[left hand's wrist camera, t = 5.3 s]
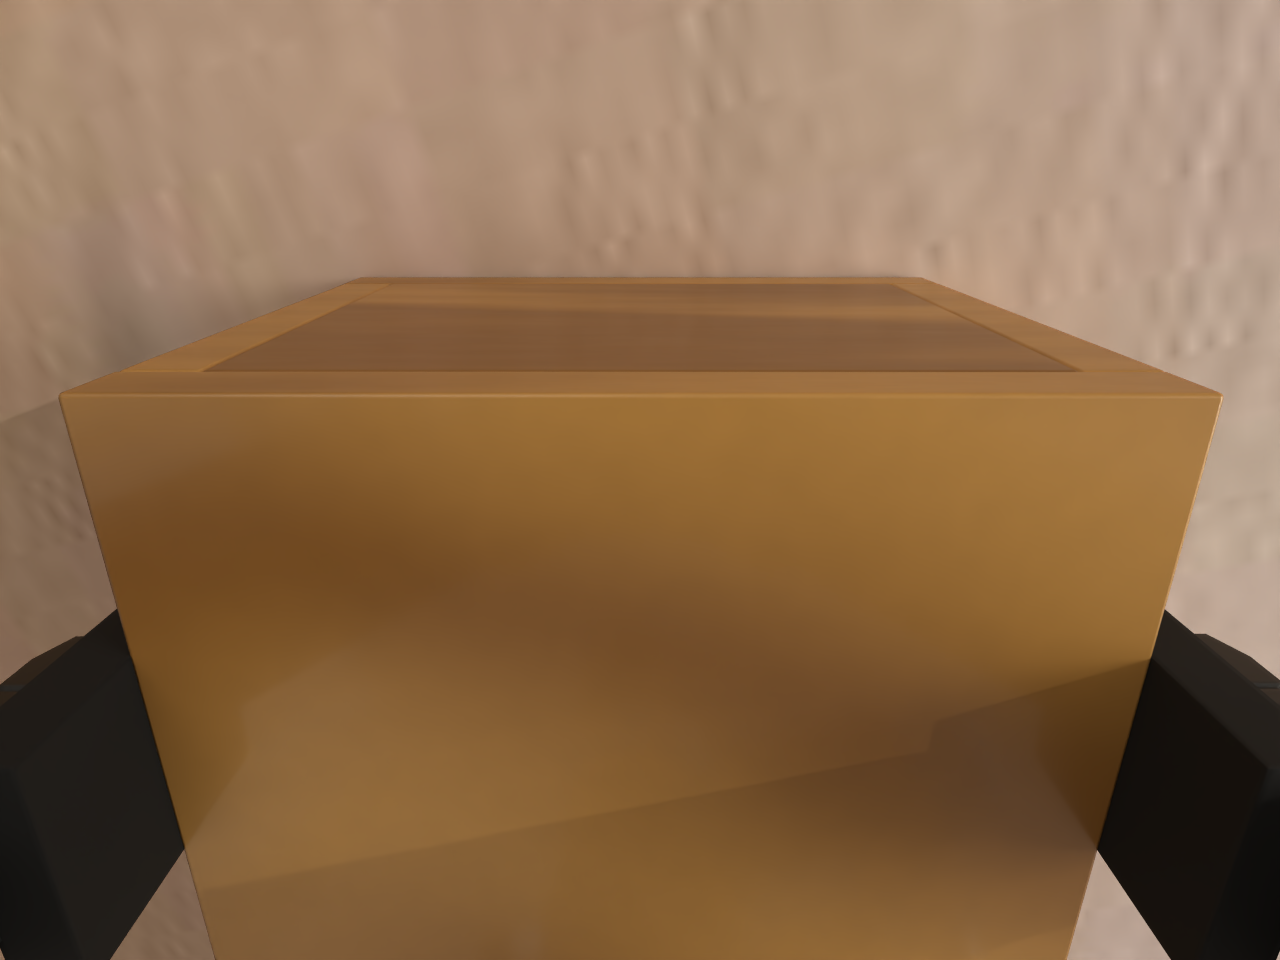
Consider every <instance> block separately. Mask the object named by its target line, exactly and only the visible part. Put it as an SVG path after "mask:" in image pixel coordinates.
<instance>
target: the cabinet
mask: <svg viewBox="0 0 1280 960" xmlns="http://www.w3.org/2000/svg"><path fill="white" fill-rule="evenodd" d="M59 402H60V405H61V409H62V413H63V416H64V420H65V423H66V427H67V430H68V434H69V438H70V441H71V445H72V448H73V452H74V455H75V459H76V463H77V466H78V470H79V473H80V477H81V481H82V484H83V488H84V491H85V495H86V498H87V502H88V506H89V509H90V513H91V516H92V520H93V523H94V527H95V531H96V534H97V538H98V541H99V545H100V549H101V552H102V556H103V559H104V563H105V566H106V570H107V574H108V577H109V581H110V584H111V588H112V592H113V595H114V599H115V602H116V606H117V609H118V613H119V617H120V620H121V624H122V627H123V631H124V634H125V638H126V642H127V645H128V649H129V652H130V656H131V659H132V663H133V667H134V670H135V674H136V677H137V681H138V685H139V688H140V692H141V695H142V699H143V702H144V706H145V710H146V713H147V717H148V720H149V724H150V728H151V731H152V735H153V738H154V742H155V745H156V749H157V753H158V756H159V760H160V763H161V767H162V771H163V774H164V778H165V781H166V785H167V788H168V792H169V796H170V799H171V803H172V806H173V810H174V813H175V817H176V821H177V824H178V828H179V831H180V835H181V839H182V842H183V846H184V849H185V853H186V856H187V860H188V864H189V867H190V871H191V874H192V878H193V881H194V885H195V889H196V892H197V896H198V899H199V903H200V907H201V910H202V914H203V917H204V921H205V924H206V928H207V932H208V935H209V939H210V942H211V946H212V950H213V953H214V957H215V960H1067V956H1068V953H1069V949H1070V945H1071V942H1072V938H1073V935H1074V931H1075V928H1076V924H1077V920H1078V917H1079V913H1080V910H1081V906H1082V903H1083V899H1084V895H1085V892H1086V888H1087V885H1088V881H1089V878H1090V874H1091V870H1092V867H1093V863H1094V860H1095V856H1096V852H1097V849H1098V845H1099V842H1100V838H1101V835H1102V831H1103V827H1104V824H1105V820H1106V817H1107V813H1108V810H1109V806H1110V802H1111V799H1112V795H1113V792H1114V788H1115V785H1116V781H1117V777H1118V774H1119V770H1120V767H1121V763H1122V760H1123V756H1124V752H1125V749H1126V745H1127V742H1128V738H1129V734H1130V731H1131V727H1132V724H1133V720H1134V717H1135V713H1136V709H1137V706H1138V702H1139V699H1140V695H1141V692H1142V688H1143V684H1144V681H1145V677H1146V674H1147V670H1148V667H1149V663H1150V659H1151V656H1152V652H1153V649H1154V645H1155V642H1156V638H1157V634H1158V631H1159V627H1160V624H1161V620H1162V617H1163V613H1164V609H1165V606H1166V602H1167V599H1168V595H1169V591H1170V588H1171V584H1172V581H1173V577H1174V574H1175V570H1176V566H1177V563H1178V559H1179V556H1180V552H1181V549H1182V545H1183V541H1184V538H1185V534H1186V531H1187V527H1188V524H1189V520H1190V516H1191V513H1192V509H1193V506H1194V502H1195V499H1196V495H1197V491H1198V488H1199V484H1200V481H1201V477H1202V473H1203V470H1204V466H1205V463H1206V459H1207V456H1208V452H1209V448H1210V445H1211V441H1212V438H1213V434H1214V431H1215V427H1216V423H1217V420H1218V416H1219V413H1220V409H1221V406H1222V402H1223V395H1222V394H1221V393H1219V392H1216V391H1214V390H1211V389H1209V388H1206V387H1203V386H1201V385H1198V384H1196V383H1193V382H1191V381H1188V380H1185V379H1183V378H1180V377H1178V376H1175V375H1172V374H1170V373H1167V372H1164V371H1162V370H1160V369H1157V368H1154V367H1152V366H1149V365H1147V364H1144V363H1142V362H1139V361H1136V360H1134V359H1131V358H1129V357H1126V356H1123V355H1121V354H1118V353H1116V352H1113V351H1111V350H1108V349H1105V348H1103V347H1100V346H1098V345H1095V344H1092V343H1090V342H1087V341H1085V340H1082V339H1079V338H1077V337H1074V336H1072V335H1069V334H1067V333H1064V332H1061V331H1059V330H1056V329H1054V328H1051V327H1048V326H1046V325H1043V324H1041V323H1038V322H1035V321H1033V320H1030V319H1028V318H1025V317H1023V316H1020V315H1017V314H1015V313H1012V312H1010V311H1007V310H1004V309H1002V308H999V307H997V306H994V305H991V304H989V303H986V302H984V301H981V300H979V299H976V298H973V297H971V296H968V295H966V294H963V293H960V292H958V291H955V290H953V289H950V288H947V287H945V286H942V285H940V284H936V283H934V282H931V281H929V280H926V279H924V278H359V279H356V280H353V281H351V282H348V283H346V284H344V285H341V286H339V287H336V288H333V289H331V290H328V291H326V292H323V293H320V294H318V295H315V296H313V297H310V298H307V299H305V300H302V301H300V302H297V303H295V304H292V305H289V306H287V307H284V308H282V309H279V310H276V311H274V312H271V313H269V314H266V315H263V316H261V317H258V318H256V319H253V320H250V321H248V322H245V323H243V324H240V325H238V326H235V327H232V328H230V329H227V330H225V331H222V332H219V333H217V334H214V335H212V336H209V337H206V338H204V339H201V340H199V341H196V342H194V343H191V344H188V345H186V346H183V347H181V348H178V349H175V350H173V351H170V352H168V353H165V354H162V355H160V356H157V357H155V358H152V359H150V360H147V361H144V362H142V363H139V364H137V365H134V366H131V367H129V368H126V369H124V370H122V371H120V372H114V373H112V374H109V375H106V376H104V377H101V378H99V379H96V380H93V381H91V382H88V383H86V384H83V385H80V386H78V387H75V388H73V389H70V390H67V391H65V392H62V393H60V394H59Z"/></svg>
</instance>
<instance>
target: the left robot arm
mask: <svg viewBox="0 0 1280 960" xmlns="http://www.w3.org/2000/svg"><path fill="white" fill-rule="evenodd" d="M183 850H184V846H183V842H182V839H181V835H180V831H179V828H178V824H177V821H176V817H175V813H174V810H173V806H172V803H171V799H170V796H169V792H168V788H167V785H166V781H165V778H164V774H163V771H162V767H161V763H160V760H159V756H158V753H157V749H156V745H155V742H154V738H153V735H152V731H151V728H150V724H149V720H148V717H147V713H146V710H145V706H144V702H143V699H142V695H141V692H140V688H139V685H138V681H137V677H136V674H135V670H134V667H133V663H132V659H131V656H130V652H129V649H128V645H127V642H126V638H125V634H124V631H123V627H122V624H121V620H120V617H119V613H118V609H116V610H115V611H114V612H112V613H111V614H110V615H109V616H108V617H106V618H105V619H104V620H103V621H102V622H101V623H99V624H98V625H97V626H96V627H95V628H93V629H92V630H91V631H90V632H89V633H87V634H86V635H85V636H76V637H74V638H72V639H70V640H68V641H66V642H64V643H62V644H61V645H59V646H57V647H55V648H53V649H51V650H49V651H47V652H45V653H43V654H41V655H39V656H37V657H35V658H33V659H32V660H30V661H29V662H28V663H27V664H25V665H24V666H23V667H22V668H20V669H19V670H18V671H17V672H15V673H14V674H13V675H12V676H10V677H9V678H8V679H7V680H5V681H4V682H3V683H2V684H1V685H0V949H1V951H2V953H3V956H4V958H5V960H110V959H111V957H112V956H113V954H114V953H115V951H116V950H117V948H118V947H119V945H120V944H121V942H122V941H123V939H124V938H125V936H126V935H127V933H128V932H129V930H130V929H131V927H132V926H133V924H134V923H135V922H136V920H137V919H138V917H139V916H140V914H141V913H142V911H143V910H144V908H145V907H146V905H147V904H148V902H149V901H150V899H151V898H152V896H153V895H154V893H155V892H156V890H157V889H158V887H159V886H160V884H161V883H162V881H163V880H164V878H165V877H166V875H167V874H168V872H169V871H170V869H171V868H172V866H173V865H174V863H175V862H176V860H177V859H178V857H179V856H180V855H181V853H182V852H183ZM1097 850H1098V852H1099V853H1100V855H1101V856H1102V858H1103V859H1104V861H1105V862H1106V864H1107V865H1108V867H1109V868H1110V870H1111V871H1112V873H1113V874H1114V876H1115V877H1116V879H1117V880H1118V881H1119V883H1120V884H1121V886H1122V887H1123V889H1124V890H1125V892H1126V893H1127V895H1128V896H1129V898H1130V899H1131V901H1132V902H1133V904H1134V905H1135V907H1136V908H1137V910H1138V911H1139V913H1140V914H1141V916H1142V917H1143V919H1144V920H1145V922H1146V923H1147V925H1148V926H1149V928H1150V929H1151V931H1152V932H1153V934H1154V935H1155V937H1156V938H1157V940H1158V941H1159V943H1160V944H1161V945H1162V947H1163V948H1164V950H1165V951H1166V953H1167V954H1168V956H1169V957H1170V959H1171V960H1276V959H1277V956H1278V954H1279V952H1280V680H1279V679H1278V678H1276V677H1275V676H1274V675H1273V674H1271V673H1270V672H1269V671H1268V670H1266V669H1265V668H1264V667H1263V666H1261V665H1260V664H1259V663H1258V662H1256V661H1255V660H1254V659H1253V658H1251V657H1250V656H1248V655H1246V654H1244V653H1242V652H1240V651H1238V650H1236V649H1234V648H1232V647H1230V646H1228V645H1227V644H1225V643H1223V642H1221V641H1219V640H1217V639H1215V638H1213V637H1211V636H1209V635H1207V634H1194V633H1192V632H1191V631H1190V630H1189V629H1188V628H1186V627H1185V626H1184V625H1183V624H1182V623H1180V622H1179V621H1178V620H1177V619H1176V618H1175V617H1173V616H1172V615H1171V614H1170V613H1169V612H1167V611H1166V610H1165V609H1164V613H1163V617H1162V620H1161V624H1160V627H1159V631H1158V634H1157V638H1156V642H1155V645H1154V649H1153V652H1152V656H1151V659H1150V663H1149V667H1148V670H1147V674H1146V677H1145V681H1144V684H1143V688H1142V692H1141V695H1140V699H1139V702H1138V706H1137V709H1136V713H1135V717H1134V720H1133V724H1132V727H1131V731H1130V734H1129V738H1128V742H1127V745H1126V749H1125V752H1124V756H1123V760H1122V763H1121V767H1120V770H1119V774H1118V777H1117V781H1116V785H1115V788H1114V792H1113V795H1112V799H1111V802H1110V806H1109V810H1108V813H1107V817H1106V820H1105V824H1104V827H1103V831H1102V835H1101V838H1100V842H1099V845H1098V849H1097Z"/></svg>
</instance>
